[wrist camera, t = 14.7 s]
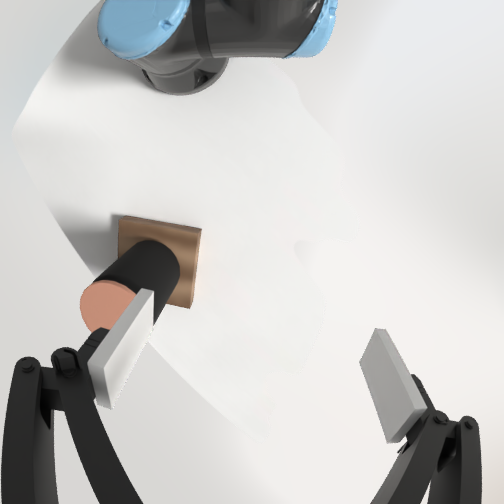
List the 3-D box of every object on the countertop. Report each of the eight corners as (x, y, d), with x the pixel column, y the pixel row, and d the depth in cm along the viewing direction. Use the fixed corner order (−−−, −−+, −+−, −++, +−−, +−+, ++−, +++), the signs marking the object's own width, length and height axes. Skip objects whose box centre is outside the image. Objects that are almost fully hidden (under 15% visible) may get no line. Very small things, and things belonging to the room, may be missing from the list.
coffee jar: (127, 284, 54) (83, 337, 37) (129, 232, 50) (76, 273, 33) (179, 297, 54) (148, 358, 38) (185, 244, 51) (150, 293, 34)
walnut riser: (125, 215, 52) (119, 219, 50) (201, 228, 53) (198, 233, 50) (124, 285, 58) (118, 292, 55) (193, 300, 58) (189, 308, 55)
